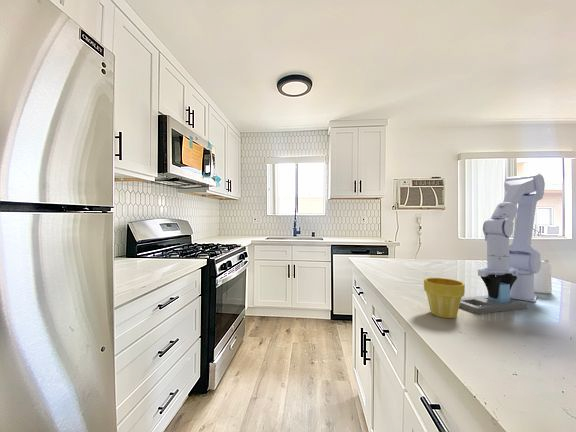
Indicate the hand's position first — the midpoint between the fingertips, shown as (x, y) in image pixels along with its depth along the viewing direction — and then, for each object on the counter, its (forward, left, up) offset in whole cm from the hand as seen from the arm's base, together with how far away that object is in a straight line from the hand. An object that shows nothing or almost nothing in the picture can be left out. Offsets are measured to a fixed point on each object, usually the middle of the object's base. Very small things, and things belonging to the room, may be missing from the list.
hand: (498, 297), depth 85 cm
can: (-30, +9, -3) cm, 31 cm away
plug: (0, 0, -2) cm, 2 cm away
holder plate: (+4, -2, -2) cm, 5 cm away
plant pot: (+22, -10, -3) cm, 24 cm away
